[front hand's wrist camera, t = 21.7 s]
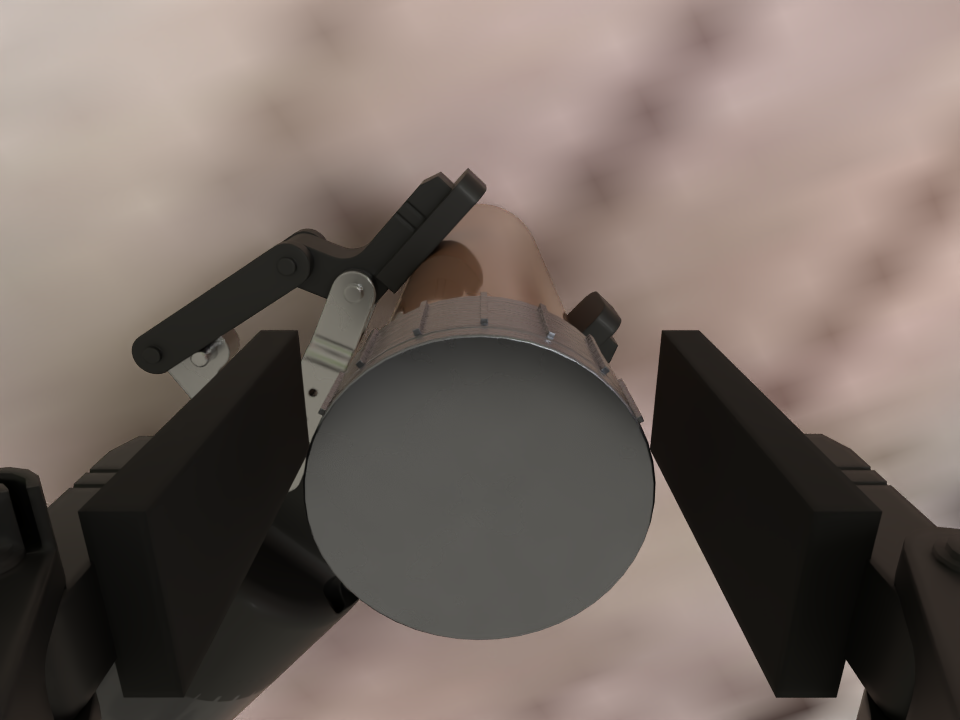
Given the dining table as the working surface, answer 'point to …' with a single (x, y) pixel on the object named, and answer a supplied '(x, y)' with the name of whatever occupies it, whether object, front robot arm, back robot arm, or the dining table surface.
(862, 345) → the dining table surface
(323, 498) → the lid
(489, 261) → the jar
